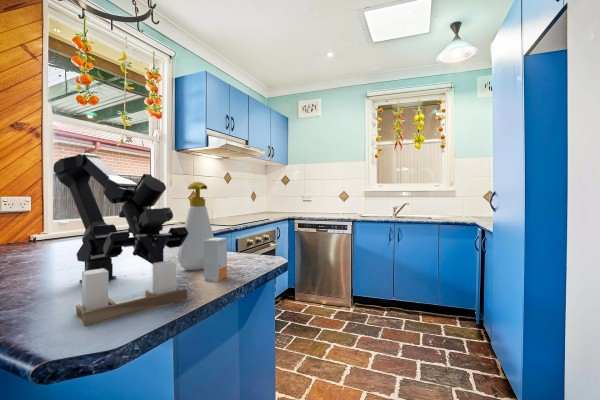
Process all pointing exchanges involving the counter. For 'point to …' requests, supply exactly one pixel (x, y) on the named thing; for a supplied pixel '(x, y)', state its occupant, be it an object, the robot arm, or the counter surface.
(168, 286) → the white rectangular block
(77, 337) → the counter surface
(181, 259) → the soap bottle
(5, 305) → the counter surface
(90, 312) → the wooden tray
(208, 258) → the skincare box
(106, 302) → the white tall block
